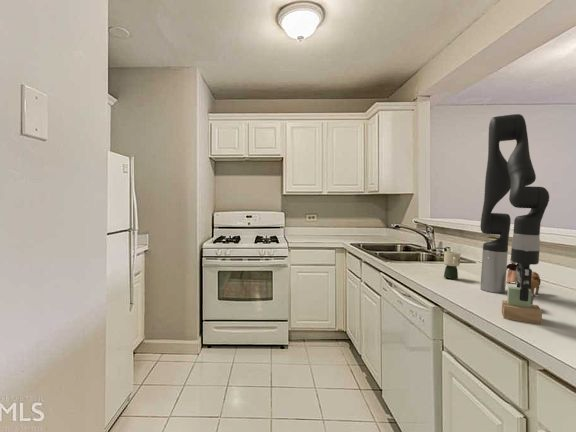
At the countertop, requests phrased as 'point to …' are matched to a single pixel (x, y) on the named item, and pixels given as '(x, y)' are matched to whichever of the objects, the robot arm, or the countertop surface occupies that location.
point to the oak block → (522, 313)
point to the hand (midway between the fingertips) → (521, 297)
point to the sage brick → (517, 297)
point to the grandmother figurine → (511, 272)
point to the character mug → (451, 264)
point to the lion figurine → (535, 283)
